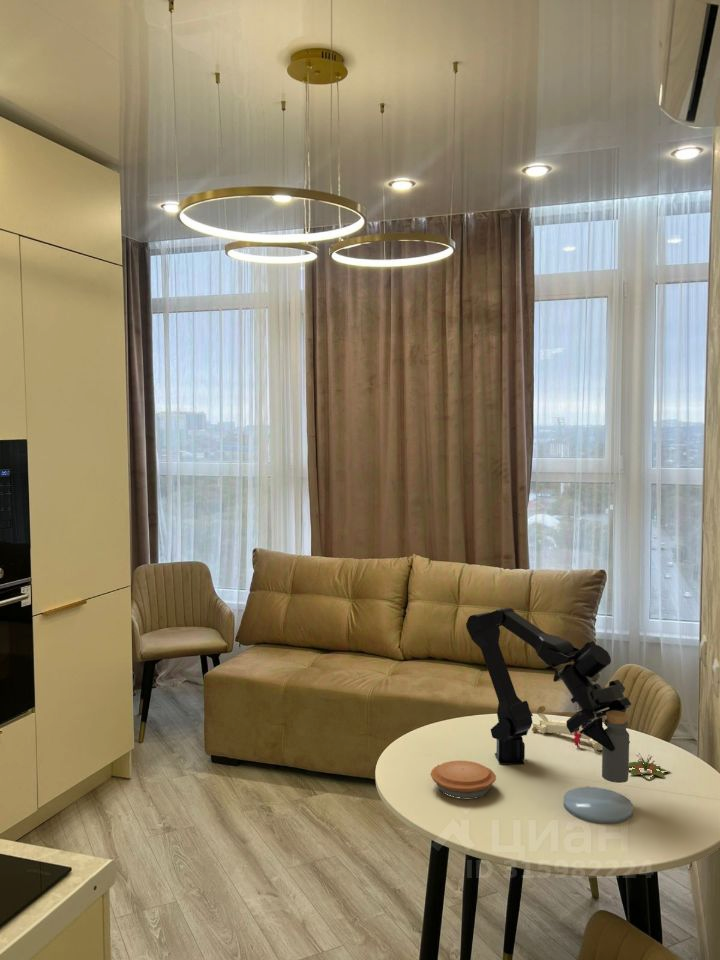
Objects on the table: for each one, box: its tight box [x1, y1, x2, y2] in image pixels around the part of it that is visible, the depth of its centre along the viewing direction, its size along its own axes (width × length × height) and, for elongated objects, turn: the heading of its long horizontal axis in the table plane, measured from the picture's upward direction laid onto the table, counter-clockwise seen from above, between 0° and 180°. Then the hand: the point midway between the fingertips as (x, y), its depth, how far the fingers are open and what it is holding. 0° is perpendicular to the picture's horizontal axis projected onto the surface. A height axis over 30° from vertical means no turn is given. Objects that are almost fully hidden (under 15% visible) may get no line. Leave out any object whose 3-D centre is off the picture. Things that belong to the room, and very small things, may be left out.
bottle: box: [601, 711, 630, 784], centre depth 183 cm, size 6×6×15 cm
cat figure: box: [531, 704, 602, 751], centre depth 221 cm, size 10×9×25 cm
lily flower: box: [629, 752, 670, 782], centre depth 201 cm, size 12×12×5 cm
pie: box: [429, 760, 497, 799], centre depth 191 cm, size 16×16×5 cm
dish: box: [563, 786, 634, 824], centre depth 181 cm, size 15×15×2 cm
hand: (620, 747), depth 182 cm, fingers closed on bottle, 6 cm apart
